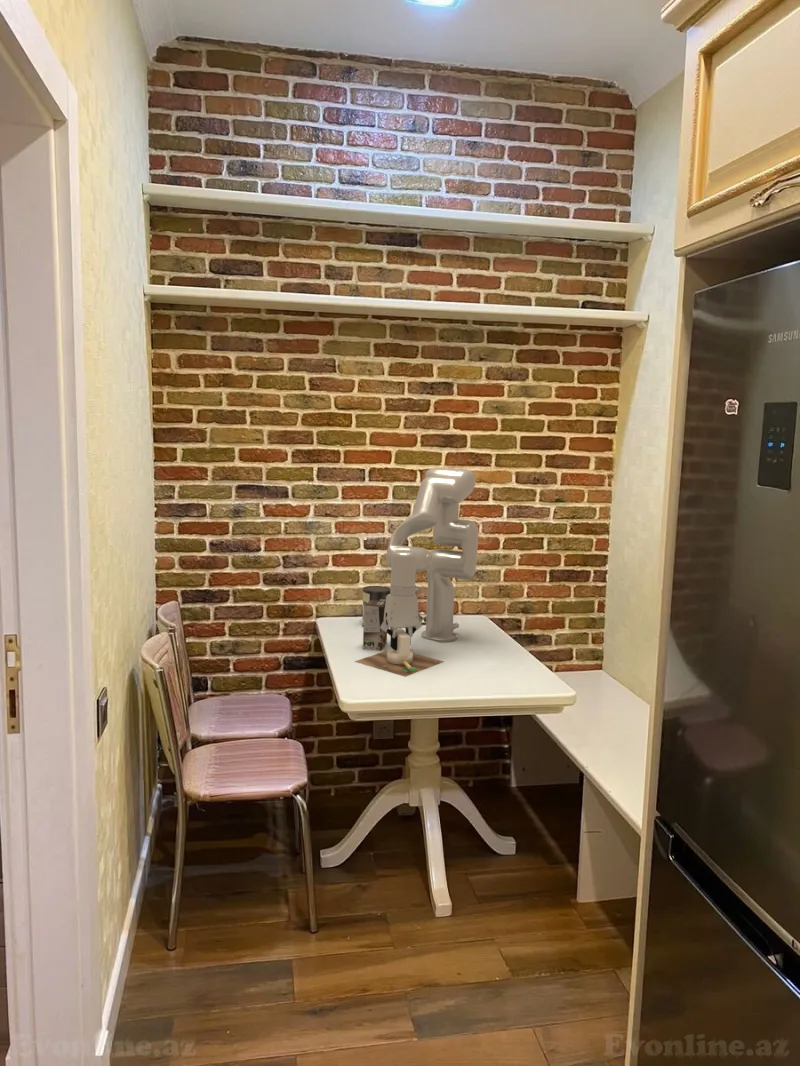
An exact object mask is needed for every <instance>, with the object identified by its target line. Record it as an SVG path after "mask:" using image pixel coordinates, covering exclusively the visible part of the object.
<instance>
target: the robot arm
mask: <svg viewBox="0 0 800 1066" xmlns="http://www.w3.org/2000/svg"><path fill="white" fill-rule="evenodd" d="M475 485H476V477H475V474H474V472H472V470H469V469H460V468H449V467H445V468H444V467H435V468H434V467H433V468H429V469H428V470H427V471H426V472H425V477H424V478H423V479H422V480H421V483H420V484H419V489H418V491H417V495H416V499H415V501H414V502H415V503H414V506H413V509H412V513H411V515H410V516H409V517H408V518H406V519H405V520H404V521H403V522H401V523H400V524H399V525H398V526H397V527H396V528H395V530H394V531H393V533H392V534H391V537H390V540H389V543H388V546H387V550H386V556H385V558H386V559H385V561H386V564H387V566H388V567H389V568H391V569H390V587H389V588H390V594H388V595H387V599H386V604H385V611H384V621H383V623H382V625H381V626H380V628H381V629H382V630H384V631H385V632H387V635H389V636H390V642H389V643H390V644H389V645H390V648H392V649H393V650H395V651H396V650H397V640H398V639H397V638H396V633H397V628H402V629H403V628H404V631H405V632H406V633H407V634H408V635H409V636H410V637H411V639H410V646H411V645H412V644H411V643H412V642H411V641H412V637H413V635H414V633H416V631H417V630H419V629H420V628H422V627H423V624H422V623H421V621H420V619H419V604H418V603H419V602H418V596H417V594H416V592H417V591H420V587H419V586H417V585H416V574H417V573H421V572H425V571H426V573H427V574H426V575H427V592H426V594H427V595H426V615H425V616H426V617H425V618H426V620H425V630H424V631H422V632H421V634H420V636H421V638H422V639H424V640H429V641H433V642H437V643H447V642H454V641H456V640H457V638H458V637H457V635H458V634H457V633H455V632H454V630H455V629H458V628H459V626H460V624H459V623H458V622H455V623H454V613H455V611H454V609H455V591H456V590H455V586H454V584H453V582H452V581H451V579H458V580H460V579H461V580H471V579H472V578H473V577H474V576H475V574H476V569H477V559H478V550H479V549H478V547H479V529H478V525H477V523H476V522H474V521H473V520H468V519H459V518H460V517H459V511H460V503H462V502H463V501H464V500H465V499H467V498H468V497H469V496H470V495H471V494H472V493H473V491H474V489H475V487H476V486H475ZM431 528H432V538H433V542H434V543H435V544H437V545H439V546H440V545H441V546H446V547H447V546H448V547H456V548H457V547H459V548H461V549H462V550H454V549H445V548H435V549H432V550H431V551H430V550H429V549H427V548H425V547H419V546H410V545H403V543H404V542H405V540H407V539H408V538H409V537H410V536H413V535H414V534H416V533H420V532H422V531H425V530H429V529H431ZM387 625H388V628H387Z"/></svg>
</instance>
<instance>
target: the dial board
mask: <svg viewBox="0 0 800 1066" xmlns="http://www.w3.org/2000/svg"><path fill="white" fill-rule="evenodd" d="M354 663H357V664H361V665H364V666H368V667H371V668H374V669H378V670H381V671H384V672H388V673H392V674H394V675H399V676H402V677H405V678H406V677H408V676H409V677H410V676H411V675H413V674H416V673H419V672H422V671H425V670H427V669H429V668H432V667H434V666H437V665H440V664H443V663H445V661H444V660H441V659H437V658H433V657H430V656H426V655H422V654H418V653H415V652H413V662H412V663H410V664H409V665H410V666H411V667H412V668H411V669H408V668H407V667H406V666H405V665H398V664H392V663H389V662H388V661H387V650H385V651H380V652H378V653H375V654H372V655H369V656H367V657H364V658H361V659H357V660H354Z"/></svg>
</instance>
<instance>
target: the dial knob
mask: <svg viewBox="0 0 800 1066" xmlns="http://www.w3.org/2000/svg"><path fill="white" fill-rule="evenodd" d="M396 638H397V639H398V640H397V650H396V651H395V650H393V649H392V648H391V647H390V648H388V649H387V650H386V651H387V661H388V662H389V663H392V664H398V665H405V666H406V667H407V668H408V669H411V668H412V667H411V666H410V665H409V664H410V663H412V662H413V653H414V651H413V649H411V645H410V639H411V640H412V637H410V636H409V635H408V634H407V633H406V631H405V629H403V628H397V633H396Z"/></svg>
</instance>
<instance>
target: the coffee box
mask: <svg viewBox="0 0 800 1066" xmlns="http://www.w3.org/2000/svg"><path fill="white" fill-rule="evenodd" d="M385 604H386V601H379V600H376V601H375V600H370V601H369V602H368V603H367V604H366V605H365V606H364V627H363V632H362V633H363V636H362V650H367V651H377V652H378V651H379V652H382V650H383V649H384V648H385V647H386V645H387V643H388V633H387V632H385V631H384V630H382V629H381V628H380V626H381V625H382V623H383V621H384V611H385Z"/></svg>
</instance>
